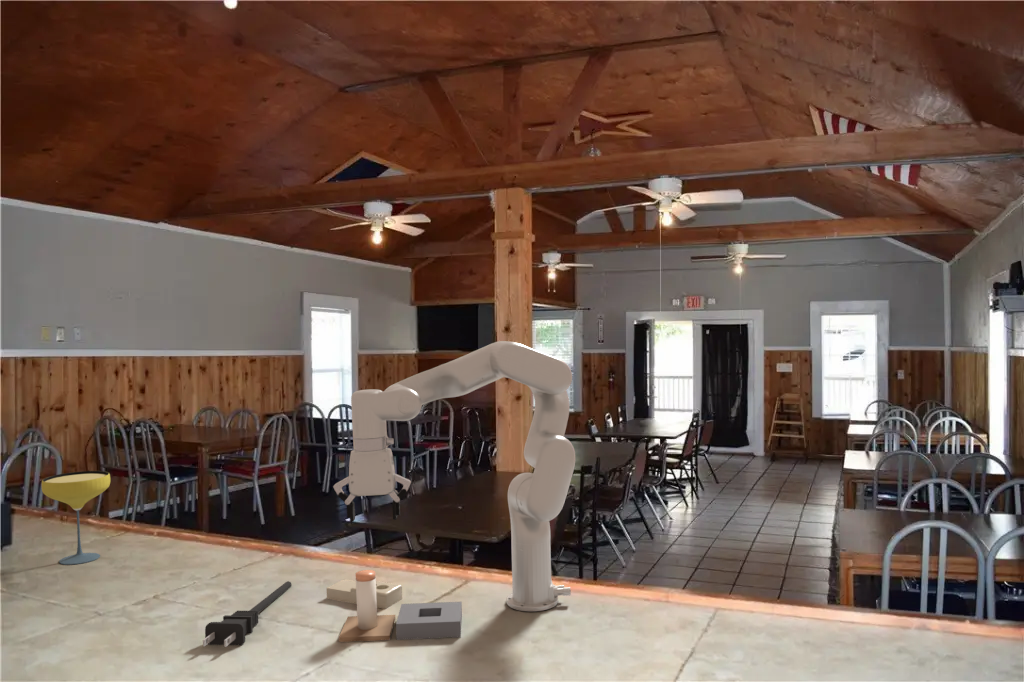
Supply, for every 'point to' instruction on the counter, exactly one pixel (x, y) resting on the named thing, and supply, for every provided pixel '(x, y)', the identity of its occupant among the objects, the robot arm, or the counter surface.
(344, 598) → the electrical outlet
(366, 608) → the plug
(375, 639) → the board
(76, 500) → the cocktail glass
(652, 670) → the counter surface
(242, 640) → the electrical plug
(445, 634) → the socket block
